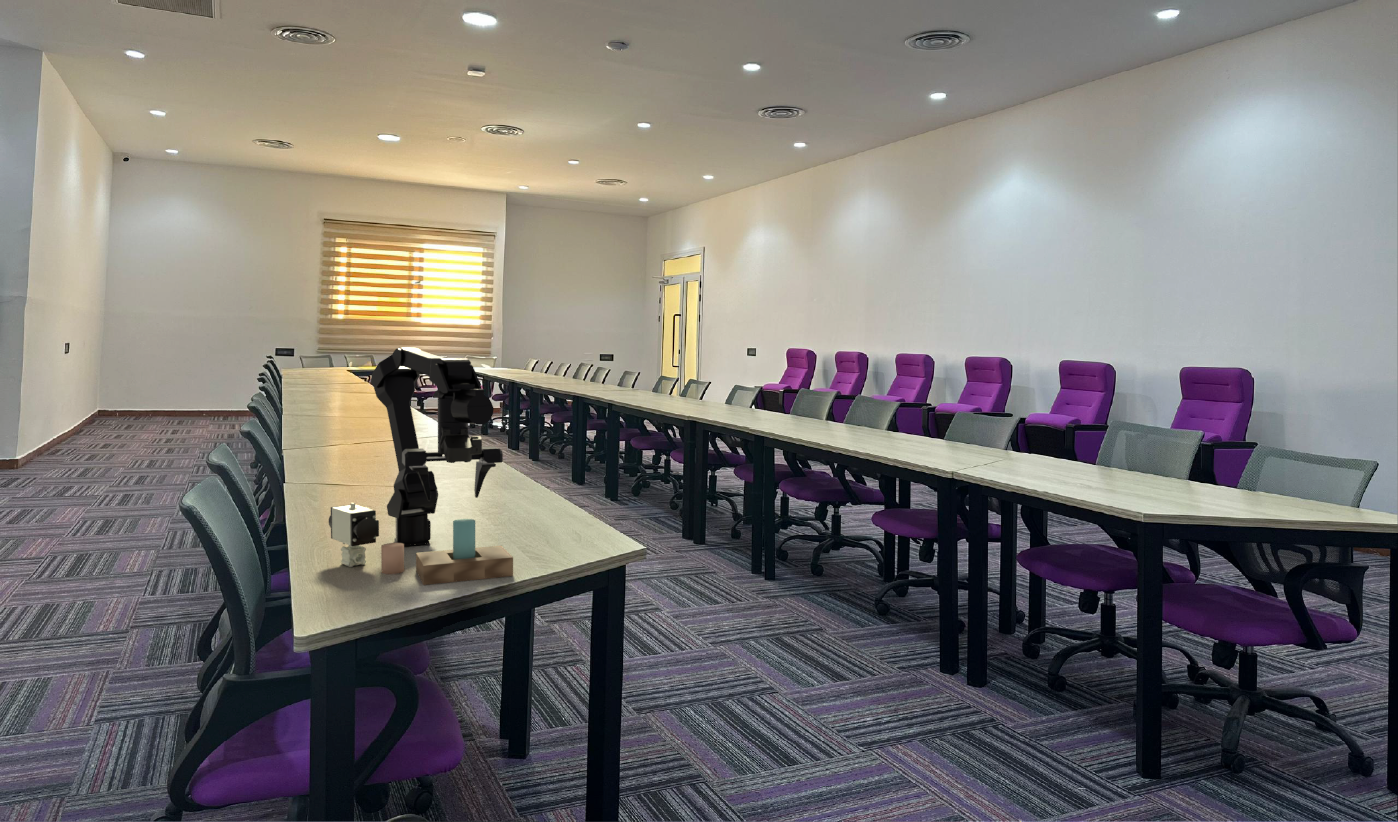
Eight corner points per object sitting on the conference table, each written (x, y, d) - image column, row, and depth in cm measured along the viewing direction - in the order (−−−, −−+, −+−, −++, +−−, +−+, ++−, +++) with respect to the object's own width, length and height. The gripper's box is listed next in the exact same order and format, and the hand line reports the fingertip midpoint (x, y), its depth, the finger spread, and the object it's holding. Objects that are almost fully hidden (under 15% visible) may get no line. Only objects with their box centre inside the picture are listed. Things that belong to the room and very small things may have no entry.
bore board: (423, 584, 146) (423, 565, 146) (416, 571, 155) (416, 552, 155) (513, 575, 153) (513, 557, 153) (501, 563, 162) (501, 545, 162)
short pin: (382, 575, 152) (382, 548, 152) (380, 569, 156) (380, 543, 155) (405, 573, 154) (405, 546, 154) (402, 567, 158) (402, 542, 157)
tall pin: (455, 577, 152) (455, 523, 151) (451, 571, 155) (451, 519, 154) (477, 575, 153) (477, 522, 153) (473, 569, 157) (473, 518, 156)
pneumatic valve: (355, 572, 153) (355, 509, 153) (327, 560, 161) (327, 500, 160) (384, 567, 158) (383, 505, 157) (355, 556, 165) (354, 497, 164)
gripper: (408, 425, 152) (408, 509, 153) (509, 423, 160) (508, 502, 161) (401, 420, 162) (401, 499, 163) (496, 419, 170) (496, 493, 171)
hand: (452, 498), depth 165 cm, fingers open, 9 cm apart
